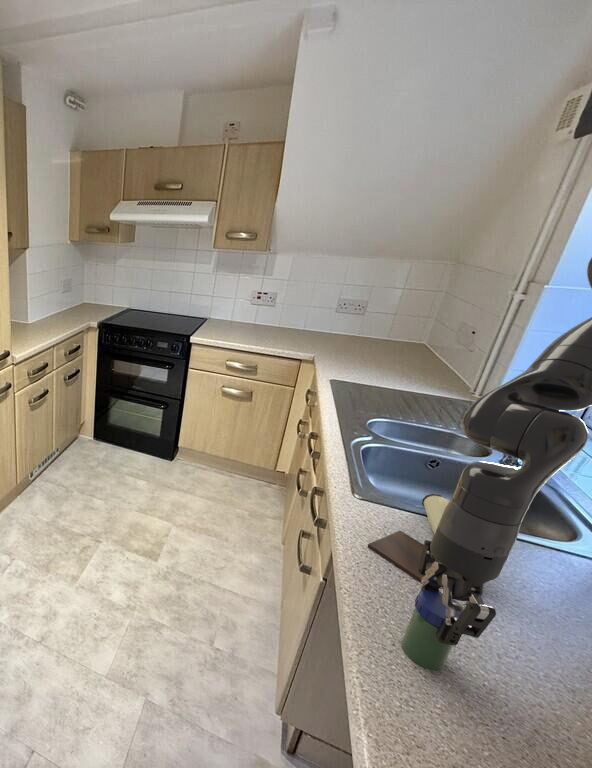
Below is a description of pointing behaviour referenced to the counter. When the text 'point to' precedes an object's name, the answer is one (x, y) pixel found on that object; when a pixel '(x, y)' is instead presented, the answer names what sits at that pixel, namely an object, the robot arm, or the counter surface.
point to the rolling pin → (434, 508)
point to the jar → (424, 643)
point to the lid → (432, 607)
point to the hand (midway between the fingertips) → (434, 623)
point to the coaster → (400, 552)
